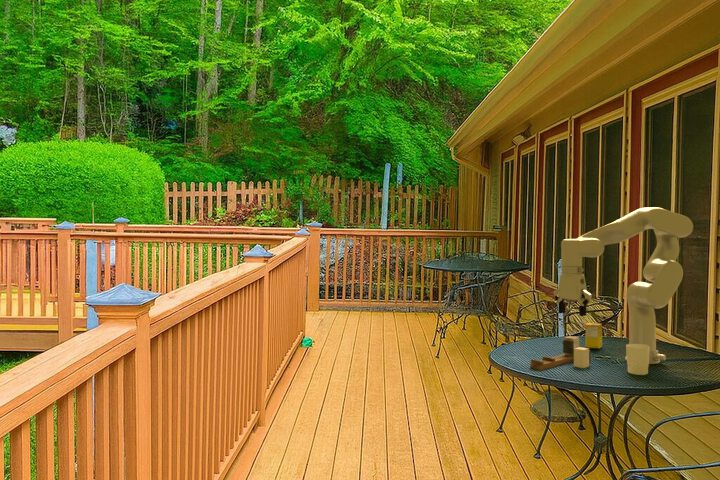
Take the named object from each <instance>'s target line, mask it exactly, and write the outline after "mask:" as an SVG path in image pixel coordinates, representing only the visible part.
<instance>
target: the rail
mask: <svg viewBox="0 0 720 480" xmlns="http://www.w3.org/2000/svg"><path fill="white" fill-rule="evenodd" d="M578 347H580V337H578V336H572V335H570V336H565V337H564V339H563V340H562V349H563V350H562V352H563V353H564V354H559V355H556V356H551V357H549V356H546V355H543V356H542V359H539V360H538V359H533V358H532V359H530V369H535V370H539V371H543V370H548V369H551V368H554V367H559V366H562V365H565V364H569V363H574V348H578Z"/></svg>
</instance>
